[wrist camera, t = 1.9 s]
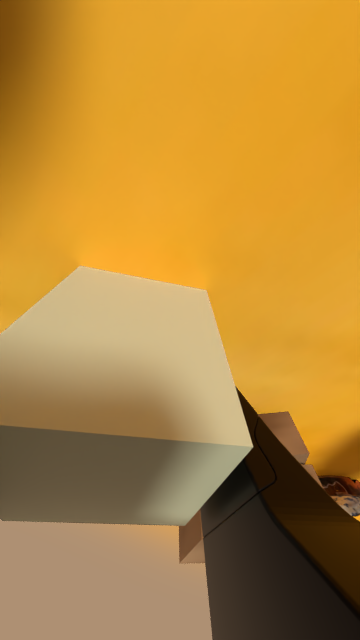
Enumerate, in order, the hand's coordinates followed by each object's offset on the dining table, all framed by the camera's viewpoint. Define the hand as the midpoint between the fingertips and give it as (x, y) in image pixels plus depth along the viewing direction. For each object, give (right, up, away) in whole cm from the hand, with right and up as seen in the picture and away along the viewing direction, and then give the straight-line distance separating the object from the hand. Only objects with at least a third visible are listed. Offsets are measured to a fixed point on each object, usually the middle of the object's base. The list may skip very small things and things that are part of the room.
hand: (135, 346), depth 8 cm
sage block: (0, +1, +1) cm, 1 cm away
